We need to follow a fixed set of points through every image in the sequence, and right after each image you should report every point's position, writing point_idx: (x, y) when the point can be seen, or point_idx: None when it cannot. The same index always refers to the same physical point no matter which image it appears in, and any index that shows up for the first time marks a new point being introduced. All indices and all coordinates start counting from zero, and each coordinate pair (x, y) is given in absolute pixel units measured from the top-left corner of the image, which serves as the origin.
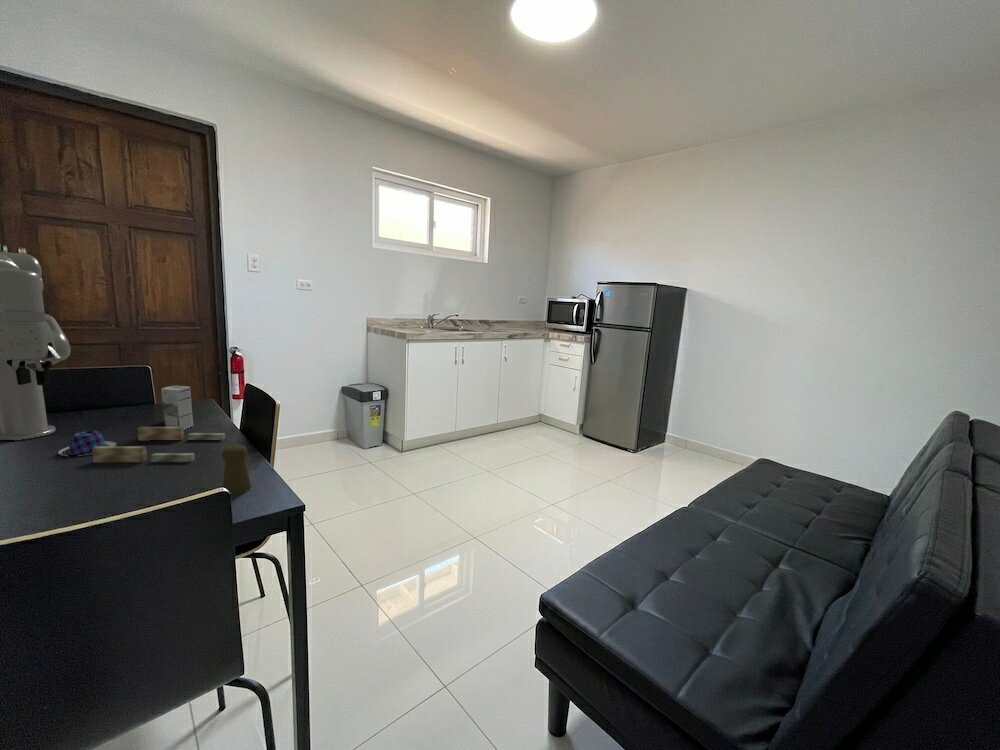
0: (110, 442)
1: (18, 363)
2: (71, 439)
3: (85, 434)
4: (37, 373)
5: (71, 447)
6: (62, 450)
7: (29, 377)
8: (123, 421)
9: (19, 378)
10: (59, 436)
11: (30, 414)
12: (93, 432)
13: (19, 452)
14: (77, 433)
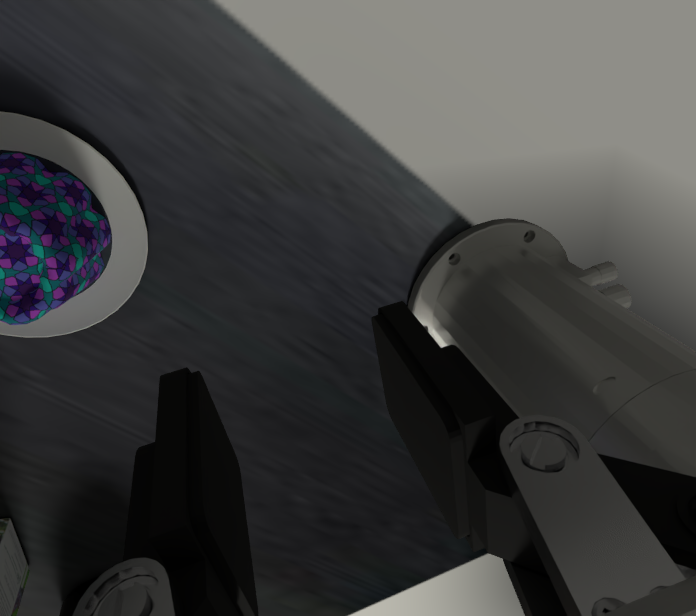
0: (29, 330)
1: (546, 558)
2: (37, 208)
3: (11, 271)
4: (164, 497)
5: (13, 172)
6: (115, 181)
7: (409, 443)
8: (303, 507)
9: (407, 351)
10: (351, 324)
11: (483, 341)
12: (6, 307)
13: (297, 122)
14: (41, 255)
